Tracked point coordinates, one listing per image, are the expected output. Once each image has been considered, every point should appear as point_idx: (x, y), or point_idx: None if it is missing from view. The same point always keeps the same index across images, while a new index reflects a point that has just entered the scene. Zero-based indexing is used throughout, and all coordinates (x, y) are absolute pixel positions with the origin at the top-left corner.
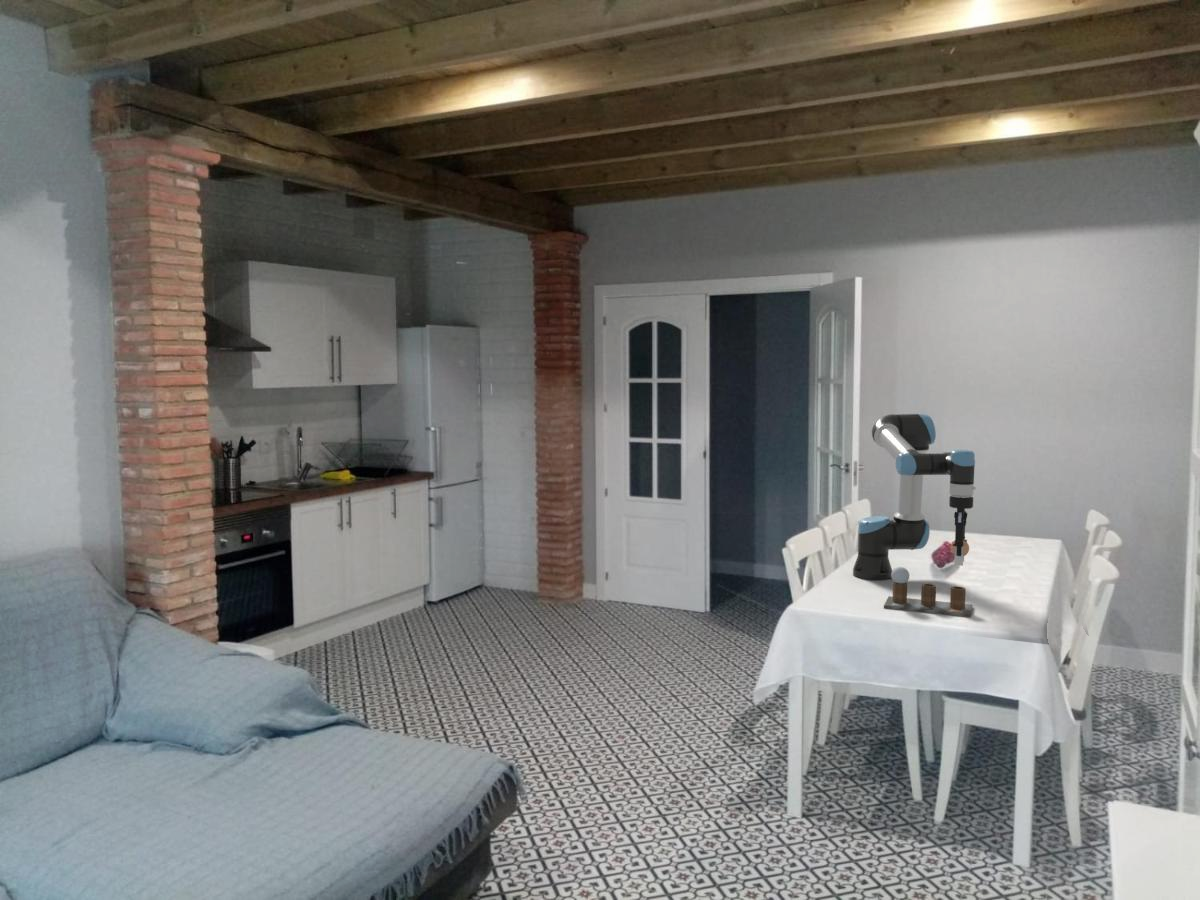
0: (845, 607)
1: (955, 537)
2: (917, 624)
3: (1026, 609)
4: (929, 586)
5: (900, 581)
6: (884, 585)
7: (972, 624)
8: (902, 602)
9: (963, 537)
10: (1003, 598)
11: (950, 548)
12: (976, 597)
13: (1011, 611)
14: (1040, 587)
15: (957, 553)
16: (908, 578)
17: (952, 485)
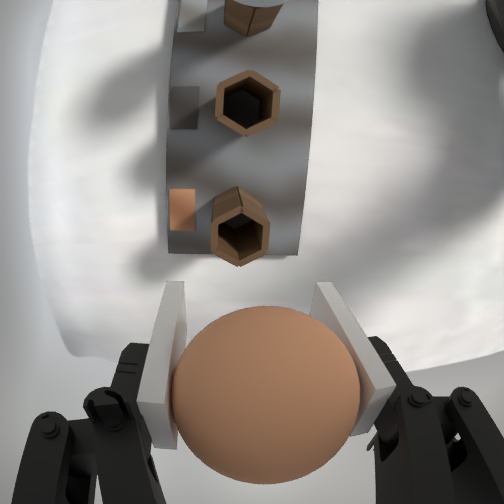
0: None
1: (15, 486)
2: (40, 110)
3: None
4: (220, 106)
5: None
6: (460, 24)
7: (103, 255)
8: (225, 23)
9: (378, 469)
10: (404, 315)
11: (246, 323)
12: (410, 258)
13: None
14: (465, 355)
15: (120, 364)
16: (245, 3)
17: None
